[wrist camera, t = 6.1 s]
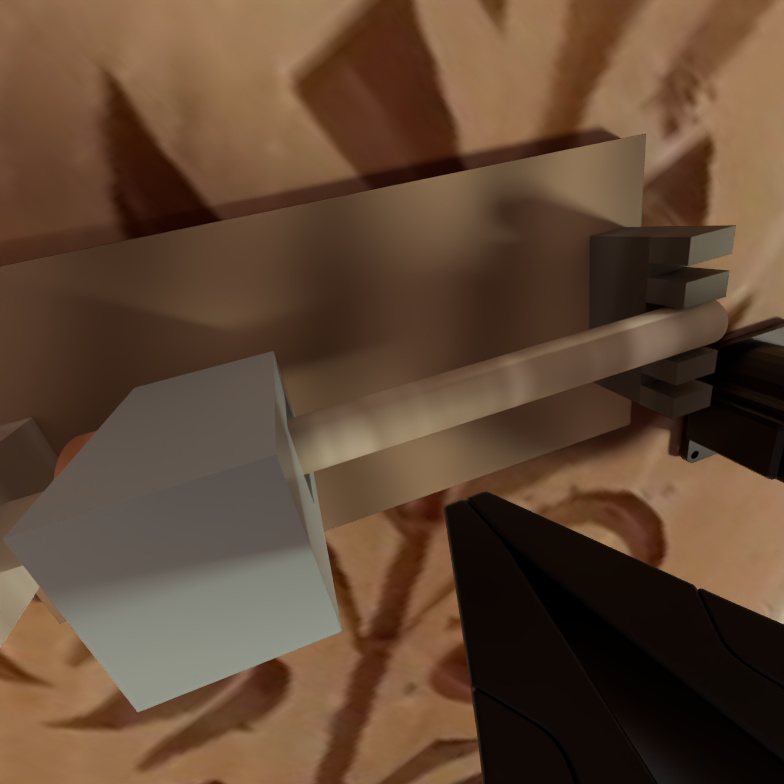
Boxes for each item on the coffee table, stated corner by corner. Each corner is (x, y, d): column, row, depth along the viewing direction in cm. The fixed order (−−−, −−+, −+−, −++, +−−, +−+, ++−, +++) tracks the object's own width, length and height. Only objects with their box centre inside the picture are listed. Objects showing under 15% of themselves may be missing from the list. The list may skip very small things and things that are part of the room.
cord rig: (624, 138, 15) (835, 83, 10) (614, 415, 20) (750, 488, 14) (-155, 300, 11) (-619, 373, 5) (71, 602, 16) (-41, 809, 10)
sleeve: (273, 350, 12) (275, 453, 7) (312, 469, 14) (342, 630, 8) (134, 387, 12) (2, 538, 6) (194, 507, 13) (137, 712, 8)
